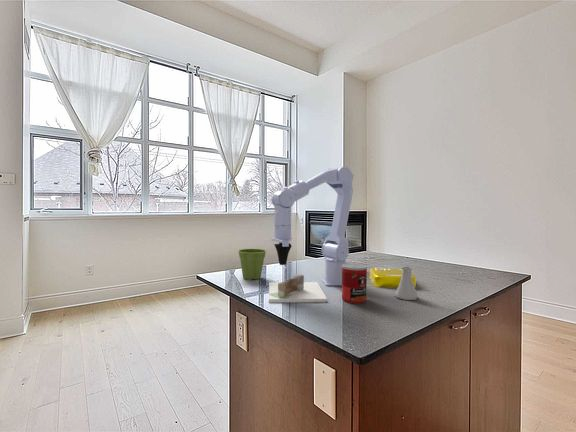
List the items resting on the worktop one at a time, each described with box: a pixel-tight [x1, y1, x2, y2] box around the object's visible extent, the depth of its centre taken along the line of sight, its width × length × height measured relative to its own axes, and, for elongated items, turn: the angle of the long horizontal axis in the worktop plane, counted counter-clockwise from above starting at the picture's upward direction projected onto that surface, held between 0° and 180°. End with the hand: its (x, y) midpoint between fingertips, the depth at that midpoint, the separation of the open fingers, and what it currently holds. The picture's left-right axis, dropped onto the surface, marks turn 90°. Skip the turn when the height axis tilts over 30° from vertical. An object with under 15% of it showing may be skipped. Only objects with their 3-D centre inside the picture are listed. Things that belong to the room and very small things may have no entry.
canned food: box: [341, 262, 368, 304], centre depth 97 cm, size 8×8×11 cm
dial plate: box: [268, 281, 328, 304], centre depth 104 cm, size 18×20×1 cm
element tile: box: [369, 267, 417, 289], centre depth 119 cm, size 15×15×5 cm
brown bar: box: [278, 273, 305, 297], centre depth 100 cm, size 13×4×4 cm, turn 147°
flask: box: [394, 265, 419, 301], centre depth 100 cm, size 7×7×10 cm
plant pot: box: [237, 248, 268, 281], centre depth 124 cm, size 12×12×11 cm
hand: (282, 264), depth 105 cm, fingers closed
